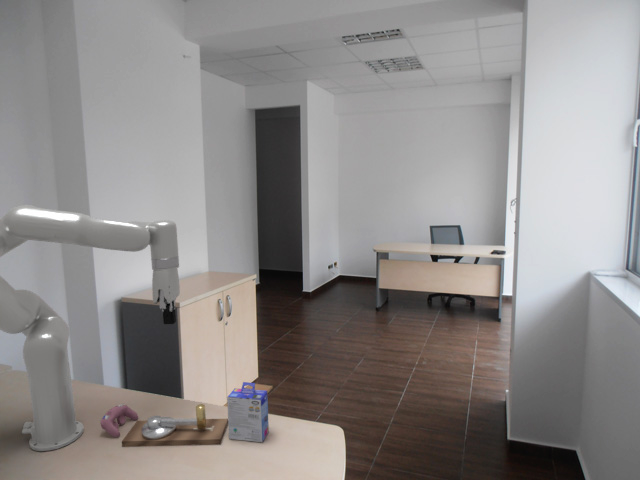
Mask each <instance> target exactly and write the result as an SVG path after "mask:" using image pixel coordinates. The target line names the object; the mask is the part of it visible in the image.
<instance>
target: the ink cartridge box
mask: <svg viewBox="0 0 640 480" xmlns="http://www.w3.org/2000/svg"><path fill="white" fill-rule="evenodd" d="M241 385H242V386H241V388H234V389H233V390H232V391H231V392H230V394H229V395H228V396H227V397H226V398H227V402H226V403H227V419H228V426H227V427H228V439H230V440H236V441H237V440H239V441H247V442H258V443H264V442H263V441H264V440H265V439H266V437H267V435H268V434H269V433H270V431H269V429H270V428H269V427H270V426H269V405H268V404H269V403H268V402H269V401H268V390H265V389H263V390H262V389H256V383H255V382H248V381H247V382H246V381H243V382H242V384H241ZM246 386H250V387H252V388H247V387H246Z"/></svg>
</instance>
